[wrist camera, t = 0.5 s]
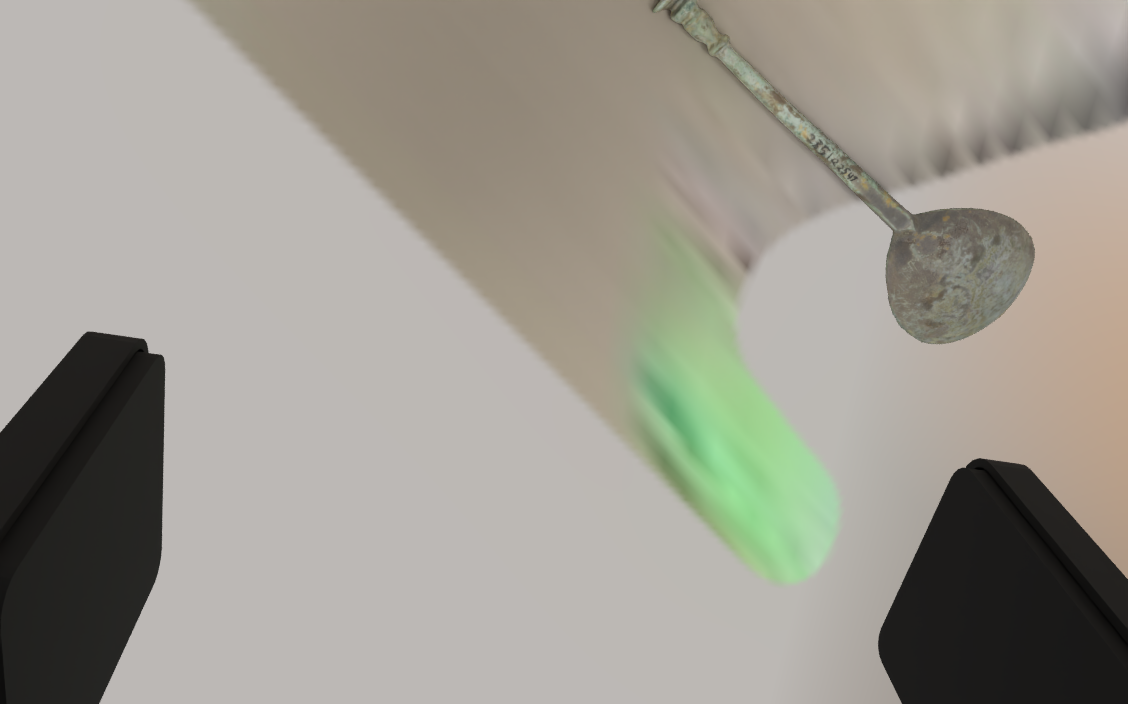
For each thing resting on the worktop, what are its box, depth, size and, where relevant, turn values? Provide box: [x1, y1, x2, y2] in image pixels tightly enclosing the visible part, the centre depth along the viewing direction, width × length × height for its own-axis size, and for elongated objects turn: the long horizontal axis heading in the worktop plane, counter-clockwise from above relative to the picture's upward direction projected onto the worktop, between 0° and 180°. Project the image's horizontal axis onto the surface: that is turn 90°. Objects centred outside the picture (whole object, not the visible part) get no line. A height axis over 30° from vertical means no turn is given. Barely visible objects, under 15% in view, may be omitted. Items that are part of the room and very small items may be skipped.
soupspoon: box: [653, 0, 1035, 344], centre depth 40 cm, size 22×3×7 cm
